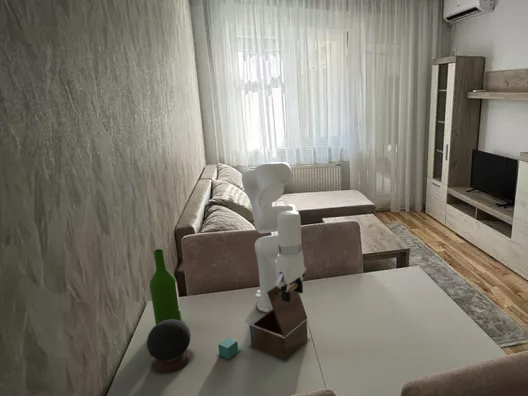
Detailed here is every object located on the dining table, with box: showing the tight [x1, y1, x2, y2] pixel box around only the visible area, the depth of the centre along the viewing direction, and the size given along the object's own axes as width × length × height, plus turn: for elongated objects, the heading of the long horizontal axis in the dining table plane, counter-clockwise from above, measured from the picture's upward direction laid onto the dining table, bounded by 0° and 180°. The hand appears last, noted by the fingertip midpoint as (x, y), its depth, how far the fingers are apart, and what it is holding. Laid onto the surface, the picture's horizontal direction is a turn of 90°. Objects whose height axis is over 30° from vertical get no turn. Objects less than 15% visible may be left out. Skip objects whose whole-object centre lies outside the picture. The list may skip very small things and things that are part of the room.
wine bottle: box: [149, 248, 183, 326], centre depth 145 cm, size 9×9×32 cm
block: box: [217, 336, 239, 360], centre depth 134 cm, size 4×4×4 cm
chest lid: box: [267, 280, 308, 337], centre depth 132 cm, size 17×13×5 cm
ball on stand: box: [146, 319, 192, 373], centre depth 129 cm, size 13×13×15 cm
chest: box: [249, 309, 308, 361], centre depth 139 cm, size 16×13×9 cm
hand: (292, 296), depth 131 cm, fingers closed on chest lid, 6 cm apart
